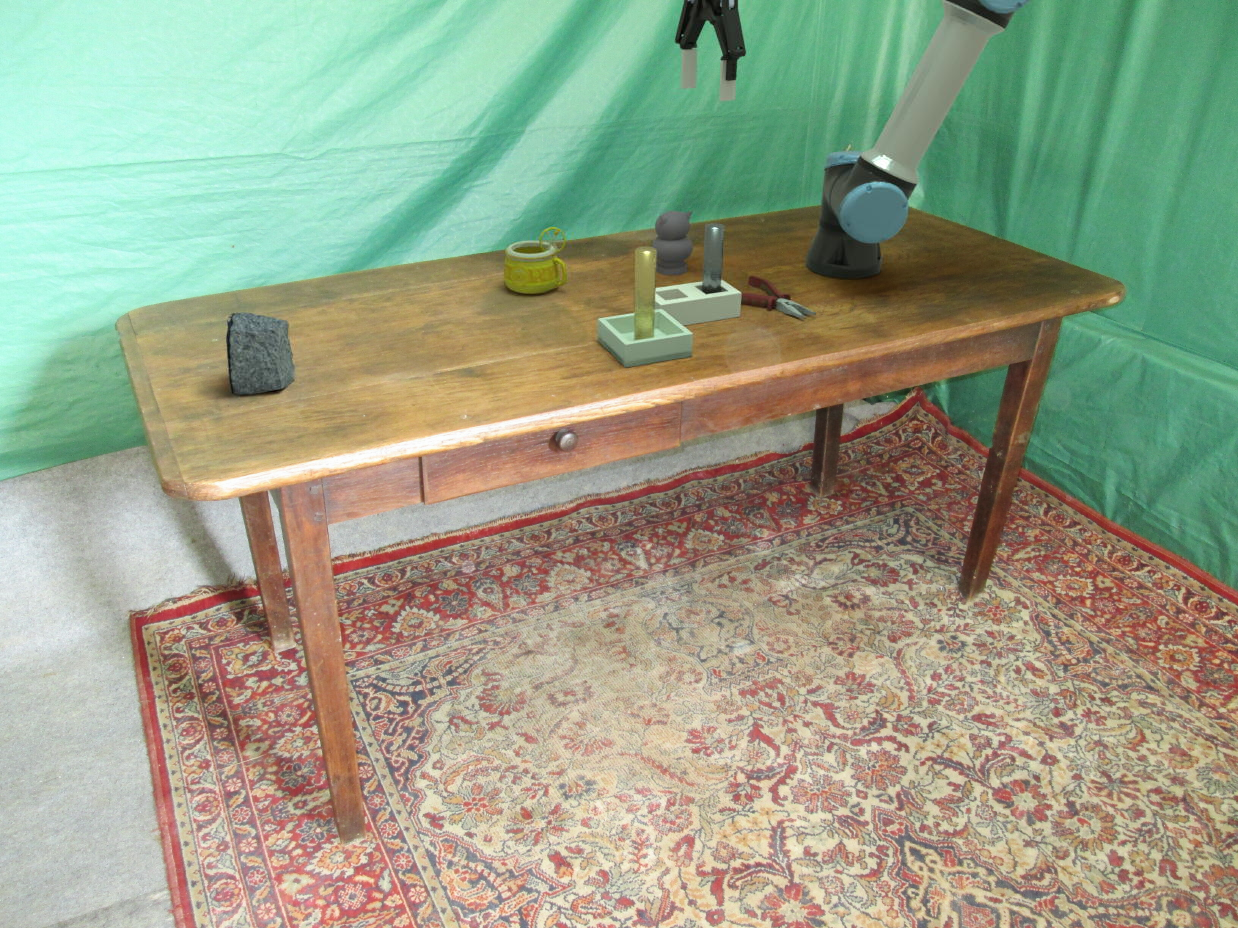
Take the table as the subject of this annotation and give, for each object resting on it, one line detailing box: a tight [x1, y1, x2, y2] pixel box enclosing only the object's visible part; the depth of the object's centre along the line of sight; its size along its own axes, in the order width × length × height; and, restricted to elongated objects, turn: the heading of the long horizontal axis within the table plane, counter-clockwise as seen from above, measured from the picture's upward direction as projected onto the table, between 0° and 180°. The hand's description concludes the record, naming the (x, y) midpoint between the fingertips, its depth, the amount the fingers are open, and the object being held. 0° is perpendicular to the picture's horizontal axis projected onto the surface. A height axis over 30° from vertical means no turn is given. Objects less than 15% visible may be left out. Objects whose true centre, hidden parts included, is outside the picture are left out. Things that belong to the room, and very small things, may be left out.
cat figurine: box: [651, 210, 694, 276], centre depth 197 cm, size 8×8×12 cm
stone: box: [225, 312, 296, 396], centre depth 150 cm, size 12×10×10 cm
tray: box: [597, 309, 694, 369], centre depth 165 cm, size 12×12×4 cm
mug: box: [503, 226, 568, 295], centre depth 188 cm, size 13×11×12 cm
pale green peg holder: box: [655, 278, 742, 327], centre depth 178 cm, size 16×8×4 cm, turn 113°
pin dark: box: [701, 222, 726, 294], centre depth 176 cm, size 3×3×16 cm
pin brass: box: [633, 246, 657, 341], centre depth 161 cm, size 3×3×16 cm
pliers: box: [740, 275, 817, 320], centre depth 184 cm, size 12×20×3 cm, turn 38°
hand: (707, 94), depth 173 cm, fingers open, 13 cm apart
